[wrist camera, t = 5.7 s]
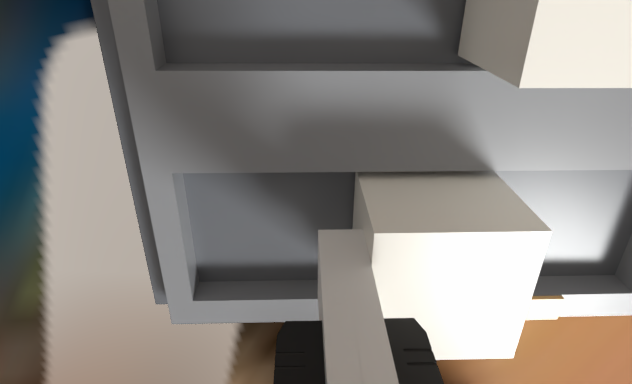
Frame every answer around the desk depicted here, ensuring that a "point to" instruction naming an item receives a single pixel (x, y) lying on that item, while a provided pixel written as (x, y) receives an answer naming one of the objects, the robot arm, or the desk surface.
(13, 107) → the desk surface
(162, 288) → the dip bank
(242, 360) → the desk surface
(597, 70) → the tab
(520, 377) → the desk surface
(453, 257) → the tab
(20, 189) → the desk surface
